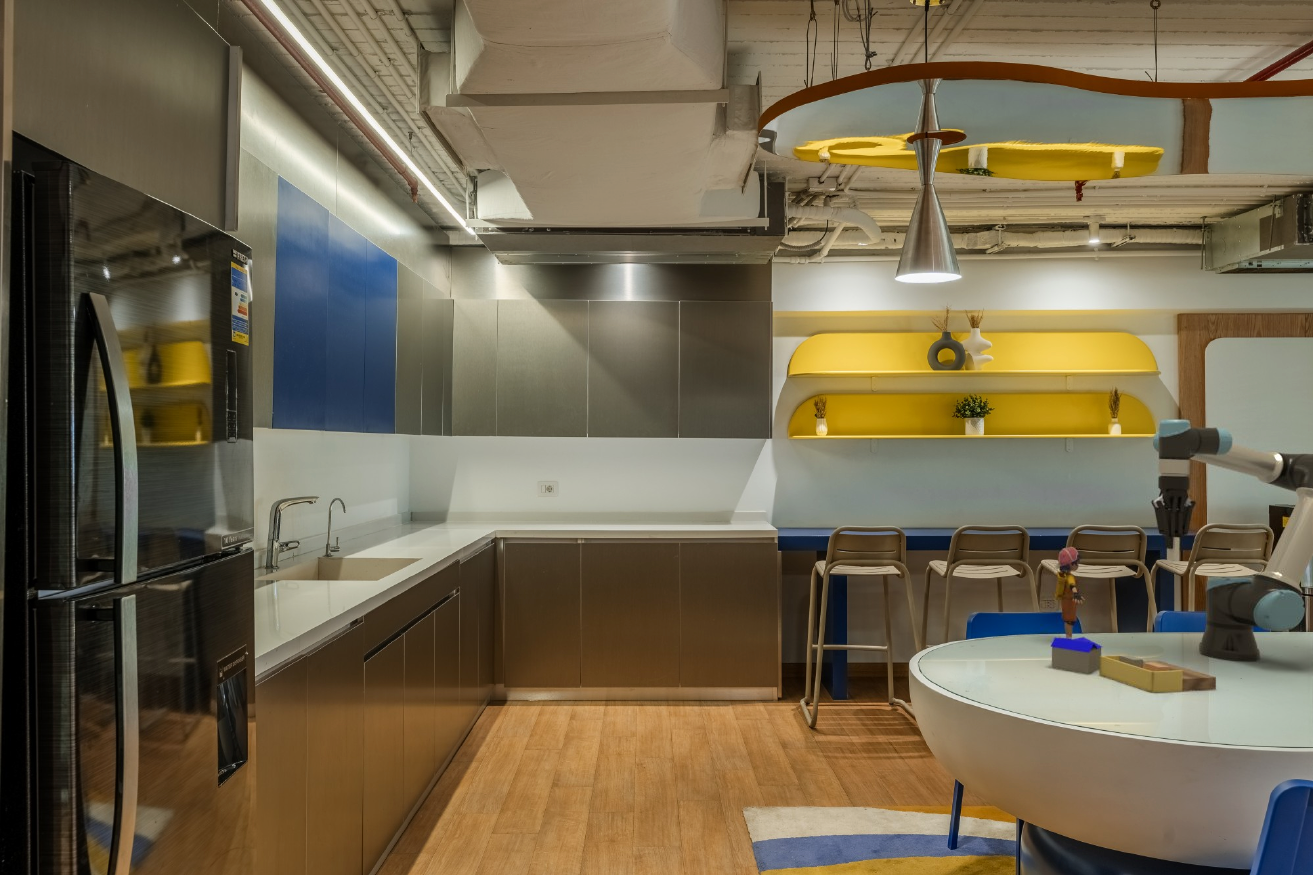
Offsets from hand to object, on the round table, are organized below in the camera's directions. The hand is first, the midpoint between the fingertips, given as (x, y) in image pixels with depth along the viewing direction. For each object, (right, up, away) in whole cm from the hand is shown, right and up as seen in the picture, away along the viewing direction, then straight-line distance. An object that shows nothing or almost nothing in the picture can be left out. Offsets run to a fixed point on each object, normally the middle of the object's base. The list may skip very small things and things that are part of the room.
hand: (1173, 560), depth 249 cm
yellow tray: (-19, -29, -19) cm, 39 cm away
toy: (-16, -30, +29) cm, 44 cm away
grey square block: (-18, -26, -14) cm, 34 cm away
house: (-28, -29, -3) cm, 41 cm away
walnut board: (-10, -29, -16) cm, 35 cm away
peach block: (-16, -26, -22) cm, 37 cm away
